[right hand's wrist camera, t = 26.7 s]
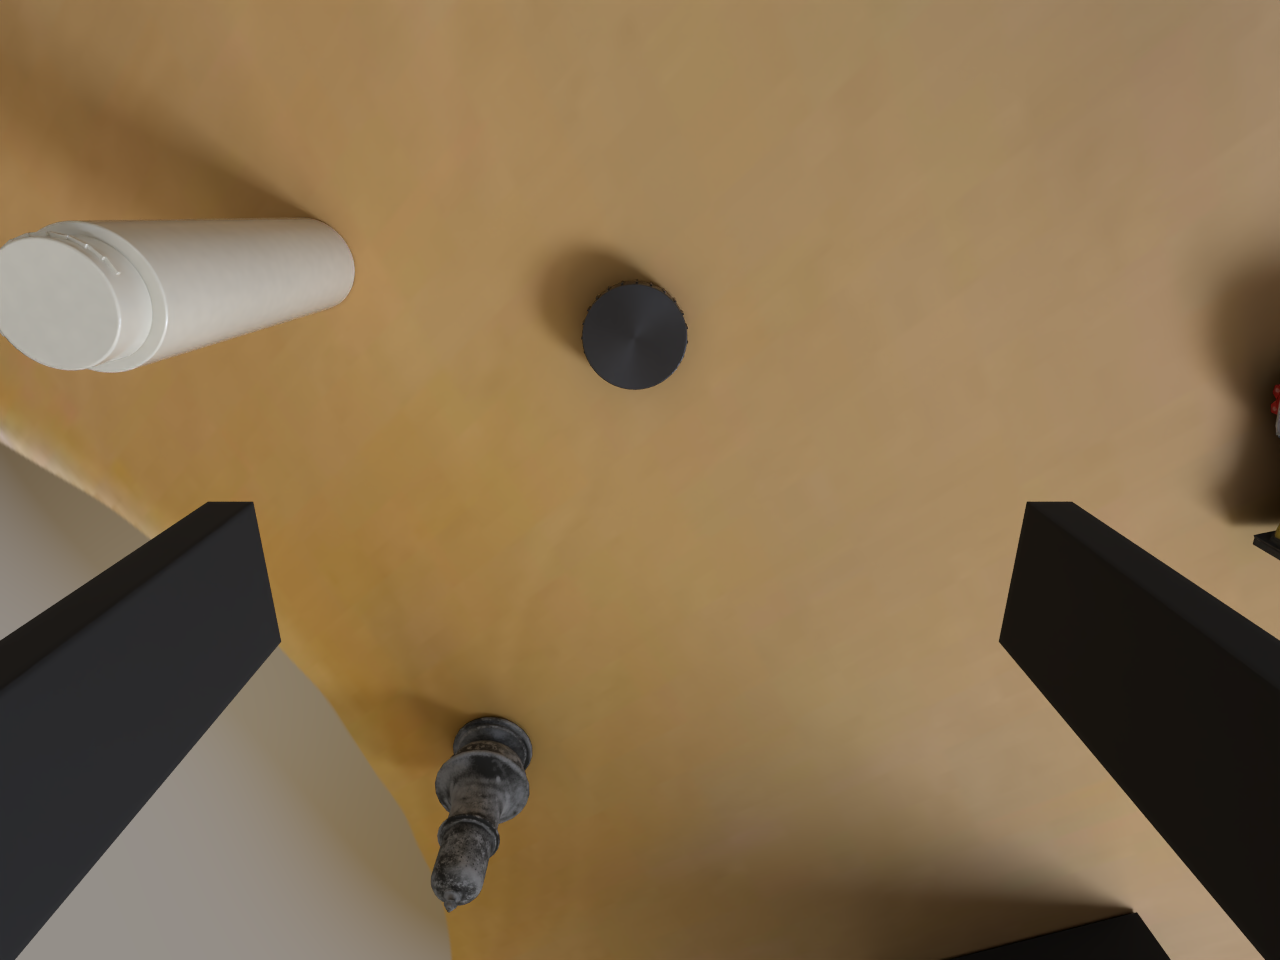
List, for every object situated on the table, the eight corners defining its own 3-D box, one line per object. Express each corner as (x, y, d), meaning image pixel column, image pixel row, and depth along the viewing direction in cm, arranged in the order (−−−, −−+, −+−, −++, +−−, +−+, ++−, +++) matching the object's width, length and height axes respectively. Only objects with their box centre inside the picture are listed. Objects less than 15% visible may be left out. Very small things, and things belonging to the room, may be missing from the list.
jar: (329, 204, 37) (74, 197, 20) (370, 293, 38) (164, 355, 22) (248, 235, 37) (-66, 253, 21) (291, 322, 39) (31, 404, 22)
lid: (565, 351, 39) (561, 358, 38) (614, 259, 38) (613, 261, 36) (653, 401, 40) (654, 409, 39) (705, 312, 39) (708, 317, 37)
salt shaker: (472, 794, 50) (423, 963, 39) (433, 728, 48) (370, 887, 37) (550, 769, 49) (524, 935, 38) (514, 702, 47) (475, 855, 36)
